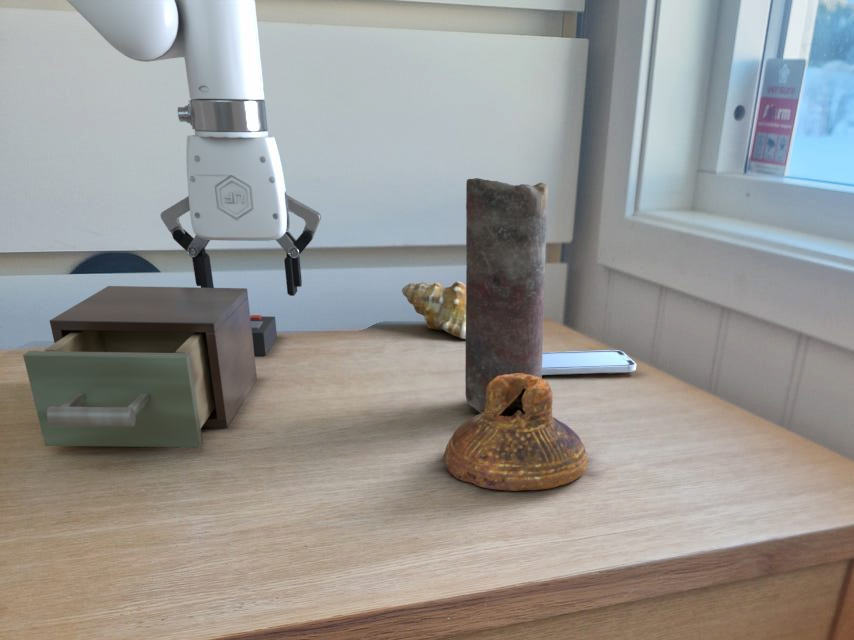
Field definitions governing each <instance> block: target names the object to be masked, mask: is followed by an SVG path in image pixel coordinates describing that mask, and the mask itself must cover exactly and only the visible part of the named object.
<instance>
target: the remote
mask: <svg viewBox="0 0 854 640" xmlns="http://www.w3.org/2000/svg"><path fill="white" fill-rule="evenodd" d="M250 320H251V329H252V338H253V347H254V356H255V357H266V356H267V354H268V353H269V351H270V350H271V348H272V347H273V345H274V344H275V342H276V341H277V339H278V333H277V321H276V317H275V316H265V315H263V316H262V314H260V315H259V314H250Z"/></svg>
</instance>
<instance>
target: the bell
mask: <svg viewBox="0 0 854 640" xmlns="http://www.w3.org/2000/svg"><path fill="white" fill-rule="evenodd" d="M553 398H554V394H553V391H552V388H551V385H550V383H549V382H548V381H547V380H545V379H544V378H542V379H541V378H539V377H536V376H533V375H528V374H523V373H516V374H510V375H502V376H497V377H496V378H494V379H493V380H492V381H491V382H490V383H489V384H488V385H487V389H486V405H485V410H484V412H483V413H481V414H480V413H478V414H476V415H474V416H472V417H470V418H469V419H468V420H466V421H464V422H463V423H462V424H461V425H460V426H458V427H457V428H456V429H455V430H454V431H453V433H452V435H451V437H450V439H449V441H448V443H447V444H446V447H445V450H444V453H443V460H444V465H445V467H446V469H447V471H448V472H449V473H450V474H452V475H453V476H454V478H456V479H458V480H460V481H462V482H465V483H471V484H474V485H475V486H478V487H481V488H483V489H490V490H499V491H511V492H519V491H539V490H547V489H553V488H556V487H559V486H564V485H567V484H570V483H572V482H574V481H576V480H577V479H578V478H580V477H581V476H582V475H583V474H584V473H585V471H586V469H587V467H588V461H589V460H588V453H587V451H586V447H585V445H584V443H583V442H582V440H581V438H580V436H579V434H577V433H576V432H575V431H574V429H572V428H570V427H569V425H567V424H566V423H564V422H562V421H560V420H559V419H557V418H556V417H554V416H553V403H554V401H553V400H554V399H553Z"/></svg>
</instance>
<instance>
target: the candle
mask: <svg viewBox="0 0 854 640" xmlns="http://www.w3.org/2000/svg"><path fill="white" fill-rule="evenodd" d="M465 185H466V187H465V188H466V190H465V191H466V193H465V195H466V196H465V199H466V200H465V201H466V202H465V212H466V213H465V214H466V216H465V217H466V220H465V221H466V226H465V227H466V228H465V230H466V231H465V232H466V233H465V234H466V235H465V236H466V237H465V245H466V246H465V247H466V256H465V257H466V259H465V260H466V261H465V262H466V271H465V278H466V280H465V286H466V339H465V371H464V373H465V374H464V375H465V379H464V380H465V399H466V403H467V405H468V406H471V408H473V409H474V410H476V411H477V412H478V413H479V414H481V413H483V412H484V410H485V405H486V389H487V385H488V384H489V383H490V382H491V381H492V380H493V379H494V378H496V377H497V376H502V375H510V374H516V373H523V374H528V375H533V376H536V377H539V378H541V379H543V377H542V376H543V375H542V352H543V342H544V337H543V335H544V310H545V309H544V308H545V282H546V261H547V259H546V257H547V256H546V253H547V252H546V250H547V249H546V247H547V235H548V197H549V187H548V184H547V183H545V182H544V183H543V182H538V183H536V184H534V185H530V184H529V183H528V184H523V183H520V184H515V185H514V184H509V183H507V182H501V181H498V180H490V179H483V178H479V177H475V178H468V179H466V183H465Z"/></svg>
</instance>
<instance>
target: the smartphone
mask: <svg viewBox="0 0 854 640" xmlns="http://www.w3.org/2000/svg"><path fill="white" fill-rule="evenodd" d="M636 370H637V363H636V362H635V361H634V360H633V359H632V358H631V357H630V356H628V355H627V354H626V353H625V352H624V351H622V350H617V349H607V350H606V349H605V350H579V351H578V350H575V351H574V350H573V351H572V350H571V351H546V352H545V351H542V376H548V375H549V376H553V375H554V376H555V375H579V374H582V375H585V374H607V375H612V374H617V373H618V374H629V373H632V372H636Z"/></svg>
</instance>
